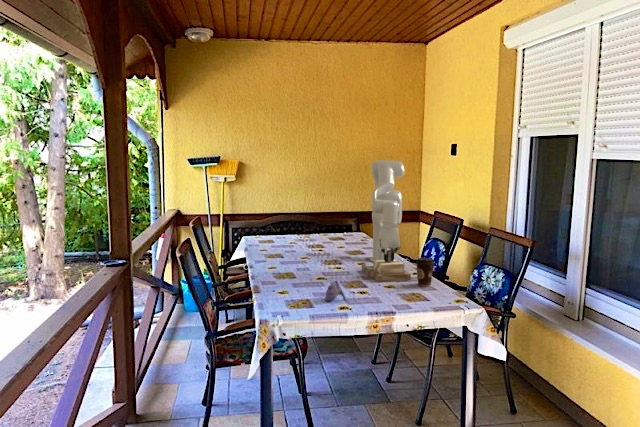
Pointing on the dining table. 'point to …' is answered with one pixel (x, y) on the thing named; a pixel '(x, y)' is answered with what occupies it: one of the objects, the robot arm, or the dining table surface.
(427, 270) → the coffee cup
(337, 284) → the grey arched piece
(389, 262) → the square knob plate
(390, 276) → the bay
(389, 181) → the robot arm
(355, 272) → the dining table surface
